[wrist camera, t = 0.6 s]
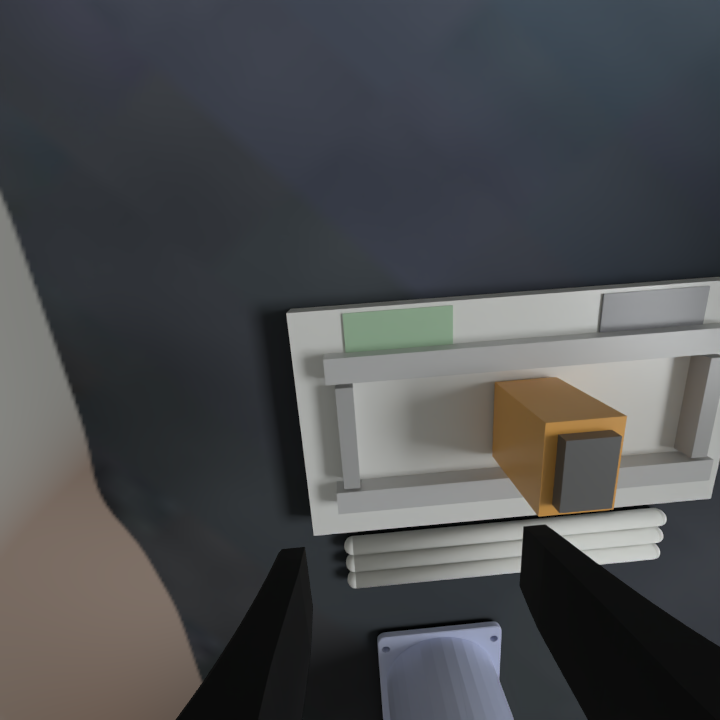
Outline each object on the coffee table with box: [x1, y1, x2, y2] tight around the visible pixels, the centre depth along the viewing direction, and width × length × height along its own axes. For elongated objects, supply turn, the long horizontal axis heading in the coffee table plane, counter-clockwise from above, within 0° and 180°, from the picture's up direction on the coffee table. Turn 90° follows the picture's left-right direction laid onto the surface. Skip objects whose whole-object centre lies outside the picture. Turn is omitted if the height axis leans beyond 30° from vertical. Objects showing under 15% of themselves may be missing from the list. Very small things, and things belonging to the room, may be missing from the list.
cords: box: [344, 508, 667, 588], centre depth 22 cm, size 19×3×1 cm, turn 94°
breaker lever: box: [492, 377, 627, 517], centre depth 16 cm, size 4×3×5 cm
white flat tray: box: [286, 277, 720, 536], centre depth 18 cm, size 12×22×2 cm, turn 94°
